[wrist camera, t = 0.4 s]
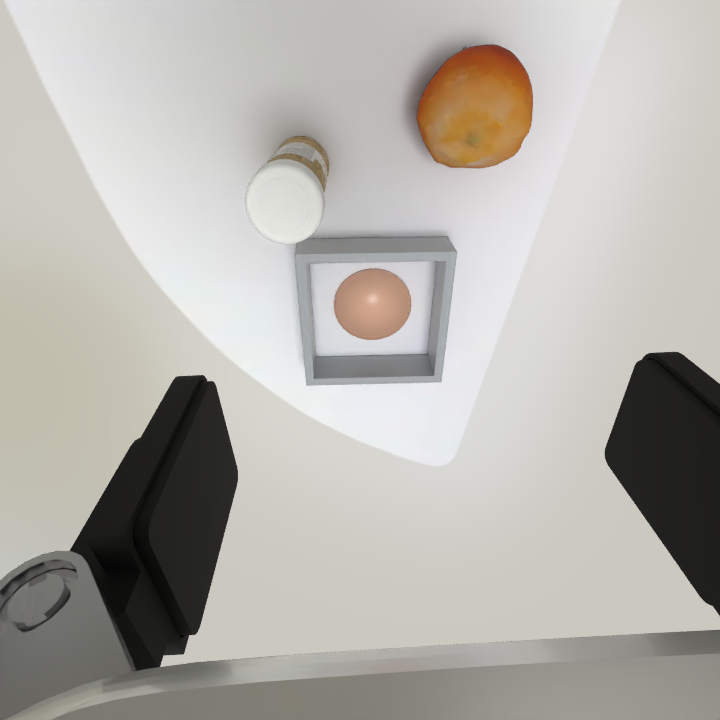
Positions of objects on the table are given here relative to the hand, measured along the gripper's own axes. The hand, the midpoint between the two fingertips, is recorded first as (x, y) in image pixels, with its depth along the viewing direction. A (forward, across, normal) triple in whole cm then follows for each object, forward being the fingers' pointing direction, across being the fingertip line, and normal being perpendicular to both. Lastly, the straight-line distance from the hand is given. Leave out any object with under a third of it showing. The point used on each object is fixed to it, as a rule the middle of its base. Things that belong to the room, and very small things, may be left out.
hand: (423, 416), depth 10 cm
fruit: (+32, -8, -4) cm, 33 cm away
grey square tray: (+32, 0, +12) cm, 34 cm away
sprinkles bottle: (+32, +5, -1) cm, 32 cm away
